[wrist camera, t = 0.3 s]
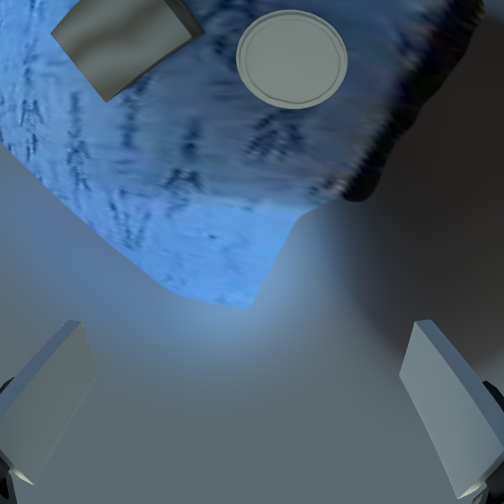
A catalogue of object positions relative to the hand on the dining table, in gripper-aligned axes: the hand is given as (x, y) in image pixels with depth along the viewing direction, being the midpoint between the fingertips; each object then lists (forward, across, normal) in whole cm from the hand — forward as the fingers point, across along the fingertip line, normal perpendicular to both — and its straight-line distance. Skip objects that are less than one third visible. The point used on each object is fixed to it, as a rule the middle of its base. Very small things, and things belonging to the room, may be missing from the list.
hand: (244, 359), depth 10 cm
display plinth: (+25, -14, +26) cm, 38 cm away
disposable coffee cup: (+26, +4, +21) cm, 34 cm away
